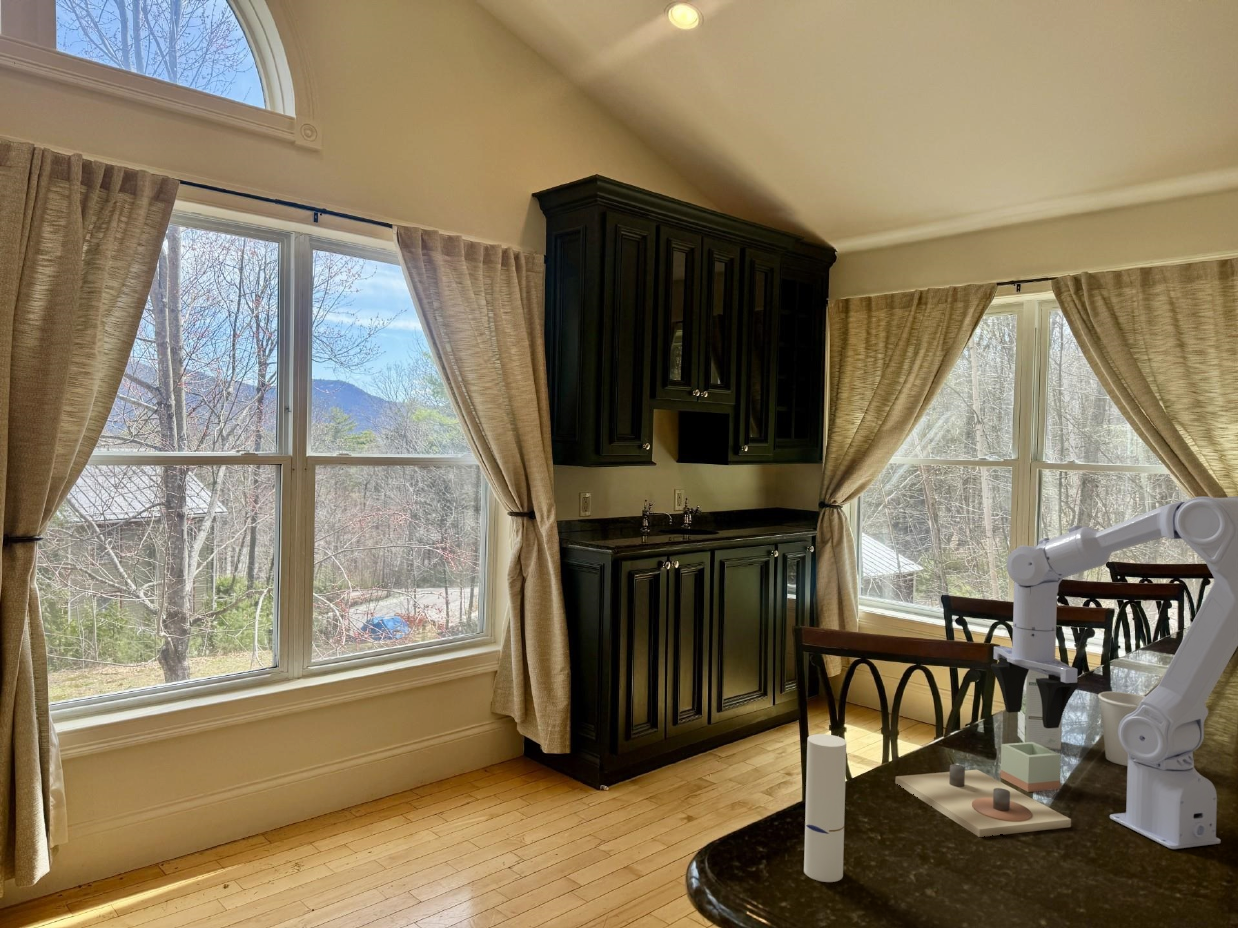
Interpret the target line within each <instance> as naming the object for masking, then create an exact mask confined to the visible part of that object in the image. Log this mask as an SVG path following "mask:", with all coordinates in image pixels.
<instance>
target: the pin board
mask: <svg viewBox="0 0 1238 928" xmlns="http://www.w3.org/2000/svg"><path fill="white" fill-rule="evenodd" d="M894 782H895V784H896V785H897V784H898V785H897V786H899V785H900V786H901V787H900V786H899V787H900V788H902V789H903V788H904V790H906V791H907V792H908V793H909V794H912V795H913V794H914V795H913V796H915V797H916V798H917V797H918V798H917V799H919V800H921V801H922V802H924V803H925V804H927V805H928V806H930V807H931V806H932V808H933V809H935V810H936V811H938V812H939V813H941V814H943V815H944V816H946V817H948V819H950V820H952V821H953V822H955V823H956V824H958V825H959V826H961V827H963V828H965V829H966V830H968V831H969V832H970V833H973V835H975V836H977V837H978V838H982V837H984V836H985V837H990V836H991V837H993V836H1000V834H1003V835H1011V834H1019V833H1020V834H1021V833H1028V832H1037V831H1046V830H1057V829H1064V828H1071V827H1072V819H1071V818H1070V817H1068V816H1065V815H1063V814H1062V813H1060V812H1058V811H1057V810H1054V809H1052V808H1050V807H1049V806H1047V805H1046V804H1043V803H1042V802H1039V801H1038V800H1035V799H1033V798H1031V797H1029V796H1028V795H1026V794H1024V793H1023V792H1020V791H1019V790H1016V789H1015V788H1013V787H1011V786H1010V785H1008V784H1006V783H1003V782H1002V781H1000V780H998V779H996V778H994V777H992V776H991V775H988V774H987V773H984V772H983V771H981V770H979V769H969V770H966V767H965V766H963V765H961V764H956V763H955V764H954V763H953V764H950V765H949V771H945V772H936V773H935V772H931V773H922V774H910V775H898V776H895V781H894ZM992 835H993V836H992ZM985 837H984V838H985Z"/></svg>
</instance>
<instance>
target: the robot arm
mask: <svg viewBox="0 0 1238 928" xmlns="http://www.w3.org/2000/svg"><path fill="white" fill-rule="evenodd" d="M1067 531H1068V532H1067V533H1065V534H1061V535H1058V536H1055V537H1052V538H1049V537H1044V538H1043V537H1042V538H1040V539H1039V540H1038V544H1037V545H1036V546H1032V545H1031V546H1030V545H1019V546H1018V547H1016V548H1015V549H1014V550H1012V551H1011V552H1010V553H1009V554H1008V557H1007V560H1006V570H1007V571H1006V572H1007V573H1008V575H1009V577H1010V579H1011V580H1012V581H1013V611H1012V612H1013V618H1012V647H1008V646H1003V645H1002V646H1000V645H998V646H993V659H994V660H995V661H996V660H997V662H996V663H991V665H990V669H991V671H992V672H993V674H994V676H995V678H996V681H997V683H998V685H999V688H1000V692H1001V697H1002V699H1003V704H1004V707H1005V712H1006V713H1009V714H1010V713H1011V714H1012V713H1018V712H1020V711H1021V707H1022V698H1023V688H1024V683H1025V680H1026V676H1027V674H1028V671H1029V669H1030V670H1033V671H1036V672H1039V673H1042V674H1045V675H1048V678H1036V683H1037V685H1038V688H1039V692H1040V696H1041V701H1042V720H1043V725H1044V727H1045V728H1048V729H1049V728H1059V725H1060V721H1061V718H1062V719H1063V715H1064V712H1065V709H1066V707H1067V705H1068V702H1069V701H1070V699H1071V697H1072V695H1074V694H1075V692H1076V690H1077V689H1078V688H1079V682H1078V668H1075V667H1073V666H1071V665H1069V664H1067V663H1066V662H1063V661H1061V660H1059V659H1057V658H1056V646H1057V645H1056V642H1057V641H1056V640H1057V637H1056V636H1057V607H1058V593H1059V585H1060V583H1061V582H1062V580H1063V579H1065V578H1069V577H1071V576H1075V575H1078V574H1081V573H1083V572H1087V571H1090V570H1094V569H1097V568H1100V567H1102V566H1105V565H1106V564H1107V563H1108V561H1109V560H1110V557H1111V555H1112V553H1115V552H1118V551H1122V550H1126V549H1128V548H1131V547H1136V546H1138V545H1142V544H1145V543H1149V542H1152V541H1157V540H1159V539H1163V538H1167V539H1170V540H1182V541H1184V543H1185V544H1187V545H1188V546H1189V548H1190V549H1192V550H1193V552H1194V553H1196V555H1197V556H1199V557H1200V558H1201V559H1202V560H1203V561H1204V562H1205V564H1206V566H1207V568H1208V570H1209V571H1210V573H1211V574H1212V577H1213V579H1214V581H1213V583H1212V585H1211V587H1210V589H1209V590H1208V592H1207V594H1206V596H1205V598H1204V600H1203V602H1202V603H1201V606H1200V607H1199V609H1198V611H1197V613H1196V614H1195V617H1194V619H1193V621H1192V622H1191V624H1190V626H1189V628H1188V630H1187V631H1186V633H1185V635H1184V637H1183V639H1182V640H1181V642H1180V645H1179V646H1178V648H1177V650H1176V652H1175V654H1174V656H1173V657H1172V659H1171V660H1170V663H1169V665H1168V667H1167V669H1165V672H1164V674H1163V676H1162V678H1161V680H1160V682H1159V683H1158V685H1157V686H1156V687H1155V688H1154V689H1152V690H1151V691H1150V692H1149V693H1148V694H1147V695H1146V697H1145V698H1144V699H1143V700H1142V701H1141V703H1140V705H1139V706H1138V708H1137V709H1136V710H1135V711H1134V712H1132V713H1130V714H1128V715H1126V716H1125V717H1124V718H1123V719H1122V720H1121V722H1120V724H1119V728H1118V735H1119V740H1120V742H1121V744H1122V746H1123V748H1124V749H1125V751H1126V752H1127V753H1128V766H1127V768H1126V769H1127V773H1126V807H1125V808H1126V809H1125V810H1126V811H1125V812H1121V813H1120V812H1119V813H1113V814H1110V815H1109V818H1110V819H1111V820H1113V821H1115V822H1116V823H1119V824H1121V825H1122V826H1125V827H1127V828H1128V829H1131V830H1133V832H1134V831H1135V832H1137V833H1138V834H1141V835H1142V836H1145V837H1146V838H1148V839H1150V840H1152V841H1155V842H1156V843H1158V844H1161V845H1162V846H1164V847H1167V848H1168V849H1171V850H1178V849H1184V848H1185V849H1186V848H1193V847H1194V848H1195V847H1201V846H1208V845H1210V846H1211V845H1216V844H1221V843H1222V842H1221V839H1220V838H1219V837H1217V813H1218V812H1217V810H1218V809H1217V806H1218V796H1217V790H1216V788H1215V785H1214V784H1213V782H1212V781H1211V780H1209V779H1208V778H1207V777H1204V776H1203V775H1201V774H1200V773H1199V772H1198V771H1197V770H1196V768H1195V764H1194V763H1195V761H1194V754H1193V753H1194V751H1196V750H1198V749H1199V748H1200V747H1201V745H1202V743H1203V741H1204V737H1205V736H1204V735H1205V731H1204V725H1205V722H1206V721H1205V720H1206V718H1207V717H1208V715H1209V709H1208V708H1207V705H1206V702H1207V701H1208V699H1209V697H1210V696H1211V694H1212V693H1213V690H1214V688H1215V687H1216V685H1217V683H1218V681H1219V680H1220V678H1221V676H1222V674H1223V673H1224V671H1225V669H1226V667H1227V665H1228V663H1230V662H1229V661H1230V660H1231V658H1232V657H1233V654H1234V653H1235V651H1236V650H1237V648H1238V496H1228V497H1227V496H1226V497H1211V496H1195V497H1193V498H1191V499H1190V498H1189V499H1188V500H1186V501H1176V502H1173V503H1168V504H1165V505H1162V506H1159V507H1157V508H1155V509H1152V510H1149V511H1147V512H1144V513H1142V514H1140V515H1139V514H1138V515H1137V516H1134V517H1132V518H1129V519H1127V520H1124V521H1122V522H1119V523H1117V524H1114V525H1112V526H1109V527H1107V528H1103V529H1102V530H1099V529H1096V528H1094V527H1091V526H1083V527H1082V525H1078V524H1077V525H1073V526H1070V527H1067Z"/></svg>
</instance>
